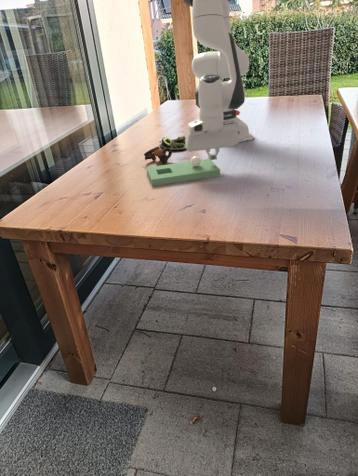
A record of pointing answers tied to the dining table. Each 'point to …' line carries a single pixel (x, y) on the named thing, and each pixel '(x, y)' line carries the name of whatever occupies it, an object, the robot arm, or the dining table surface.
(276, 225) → the dining table surface
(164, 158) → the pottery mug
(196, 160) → the ball
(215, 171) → the green board
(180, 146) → the salad plate
